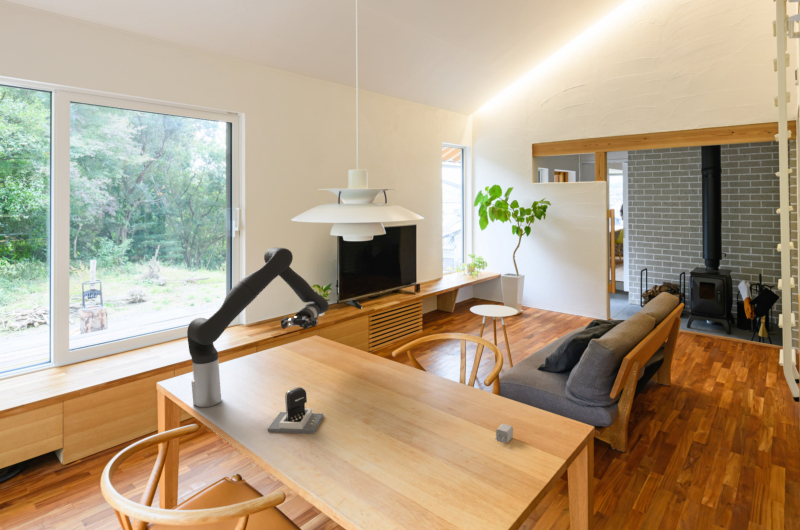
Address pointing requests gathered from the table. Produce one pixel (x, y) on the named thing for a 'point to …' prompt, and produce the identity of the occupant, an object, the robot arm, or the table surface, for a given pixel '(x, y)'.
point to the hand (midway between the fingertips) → (293, 326)
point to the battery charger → (295, 404)
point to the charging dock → (296, 423)
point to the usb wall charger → (504, 433)
